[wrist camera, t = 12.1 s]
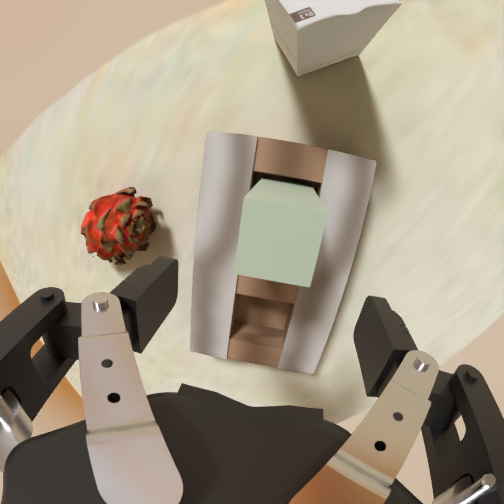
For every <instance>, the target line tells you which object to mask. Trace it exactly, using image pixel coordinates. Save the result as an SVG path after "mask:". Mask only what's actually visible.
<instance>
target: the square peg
mask: <svg viewBox="0 0 504 504" xmlns="http://www.w3.org/2000/svg"><path fill="white" fill-rule="evenodd" d="M327 213H328V212H327V211H326V209H325V207H324V205H323V204H322V202H321V200H320V199H319V197H318V195H317V194H316V192H315V190H314V188H313V187H312V185H311V184H310V183H304V182H299V181H294V180H288V179H283V178H277V177H271V176H265V175H264V176H263V177H262V179H261V180H260V181H259V182H258V183H257V184H256V185H255V186H254V187H253V188H252V189H251V190H250V191H249V193H248V194H247V195H246V196H245V197H244V200H243V207H242V215H241V222H240V230H239V237H238V245H237V252H236V260H235V268H234V274H238V275H243V276H248V277H254V278H259V279H265V280H270V281H276V282H281V283H287V284H293V285H298V286H304V287H310V285H311V281H312V277H313V273H314V269H315V265H316V261H317V257H318V253H319V249H320V245H321V240H322V236H323V232H324V227H325V223H326V218H327Z"/></svg>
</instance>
